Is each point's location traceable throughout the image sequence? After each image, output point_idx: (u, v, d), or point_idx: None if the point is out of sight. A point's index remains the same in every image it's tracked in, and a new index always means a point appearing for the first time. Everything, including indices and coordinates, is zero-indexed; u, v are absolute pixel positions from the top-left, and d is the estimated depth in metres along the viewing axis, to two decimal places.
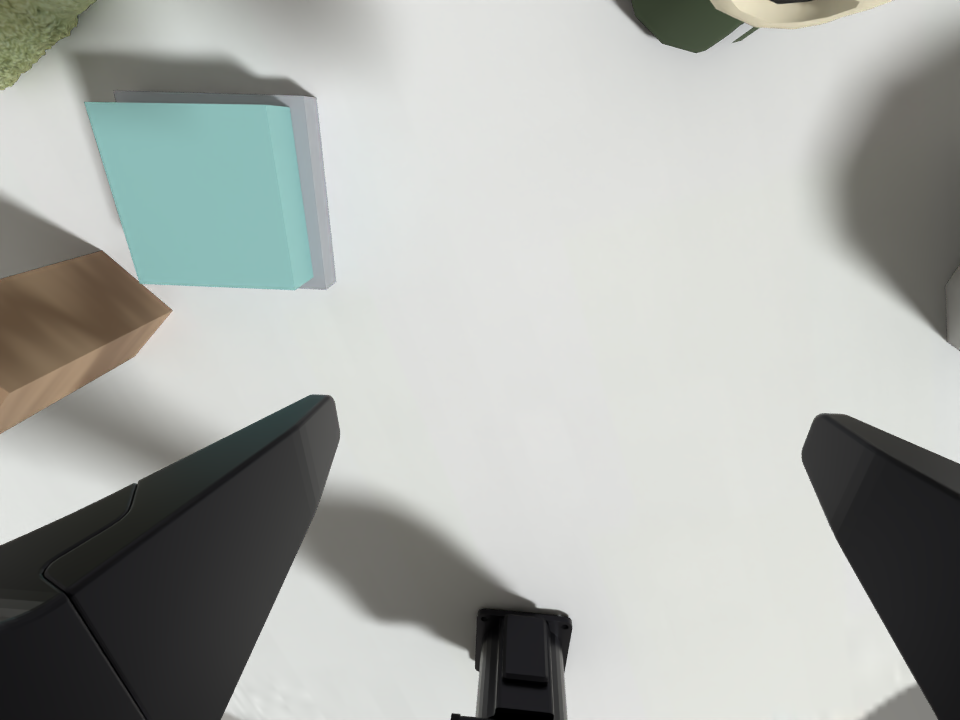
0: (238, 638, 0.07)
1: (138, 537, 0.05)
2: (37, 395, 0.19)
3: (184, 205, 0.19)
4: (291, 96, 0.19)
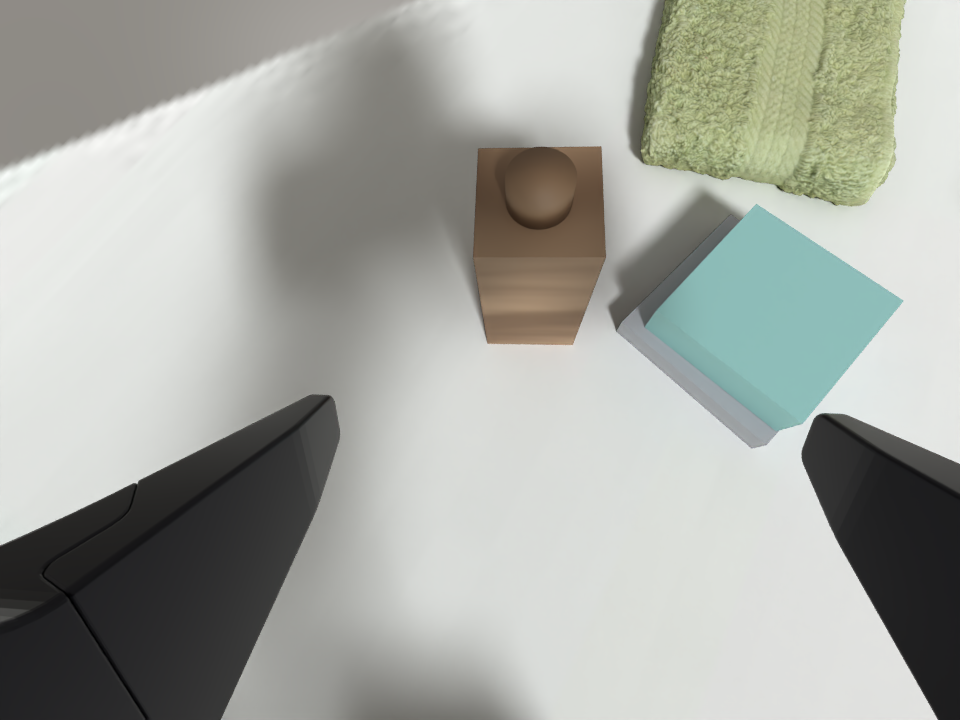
0: (238, 638, 0.07)
1: (138, 537, 0.05)
2: (542, 283, 0.17)
3: (764, 299, 0.20)
4: None
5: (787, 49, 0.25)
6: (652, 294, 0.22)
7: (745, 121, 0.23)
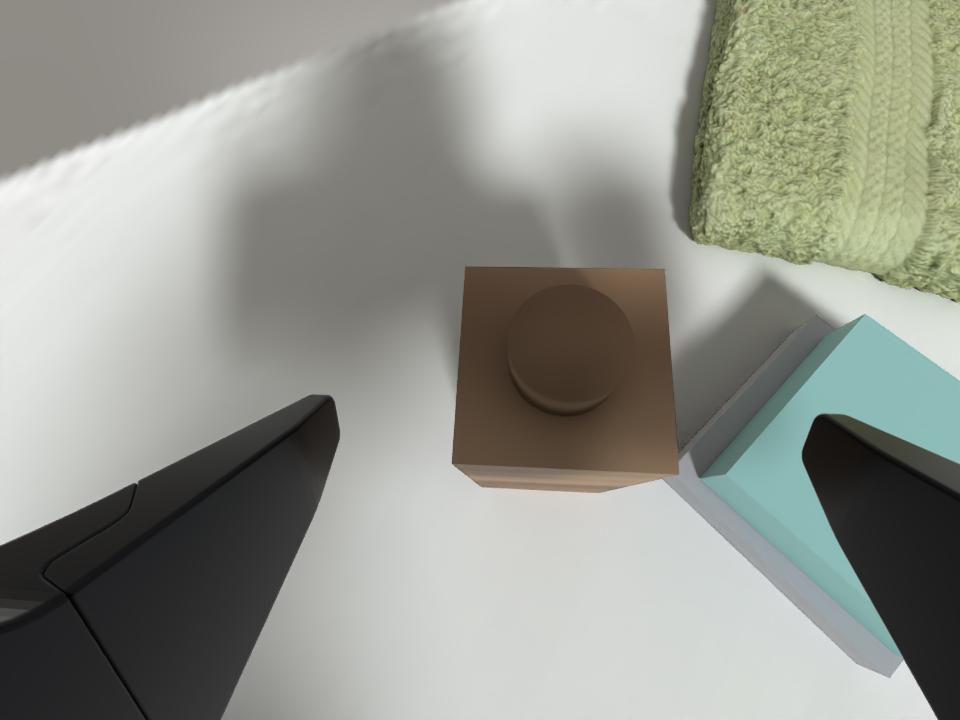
0: (238, 638, 0.07)
1: (138, 537, 0.05)
2: (564, 477, 0.11)
3: None
4: None
5: (886, 95, 0.18)
6: (711, 431, 0.16)
7: (838, 194, 0.17)
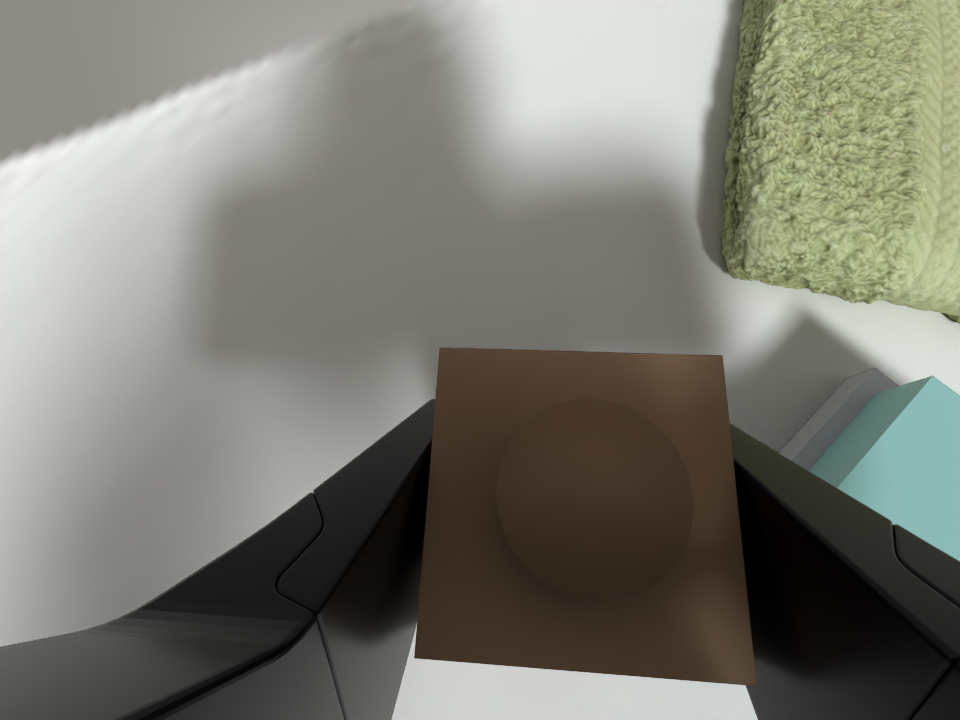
0: (399, 651, 0.07)
1: (351, 551, 0.05)
2: None
3: None
4: None
5: (959, 100, 0.15)
6: None
7: (909, 222, 0.14)
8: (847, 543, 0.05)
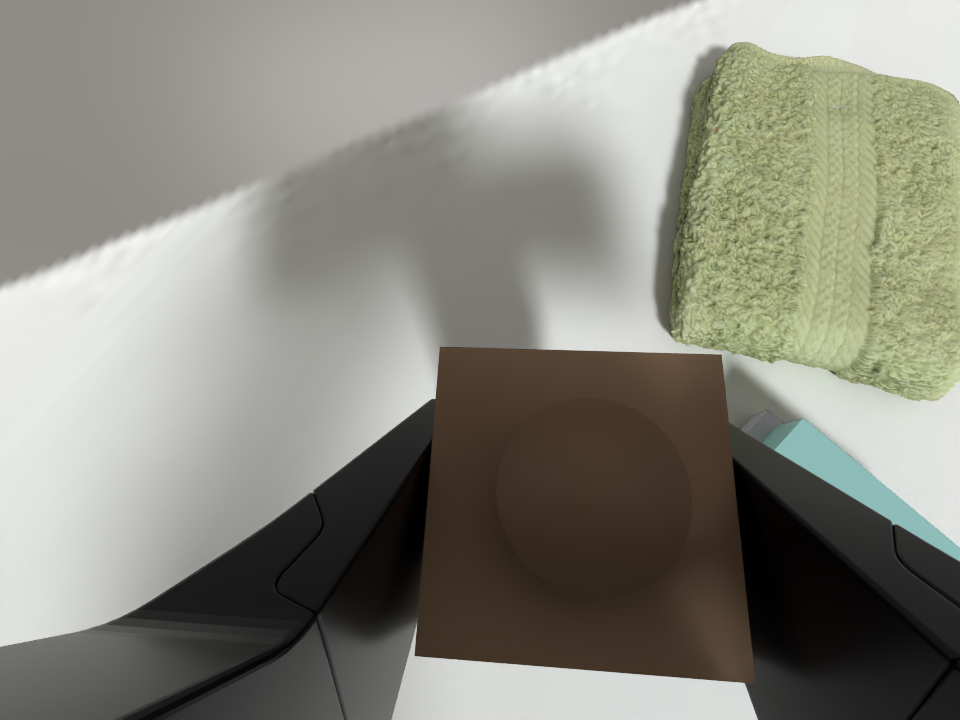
0: (399, 651, 0.07)
1: (351, 551, 0.05)
2: None
3: None
4: None
5: (836, 214, 0.21)
6: None
7: (794, 309, 0.20)
8: (846, 543, 0.05)
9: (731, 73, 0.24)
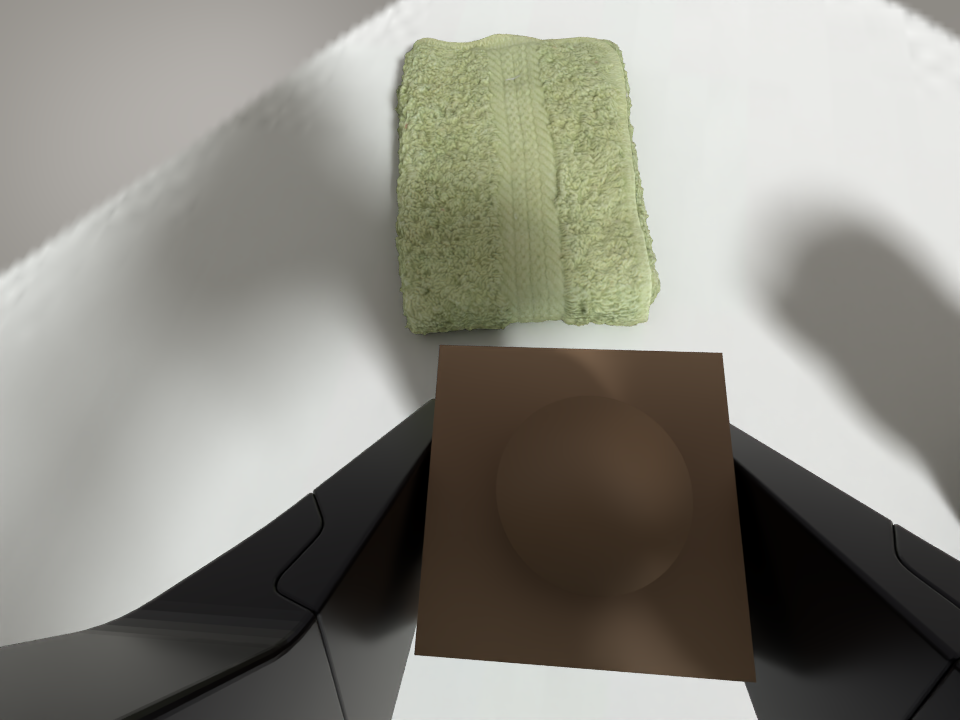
0: (399, 651, 0.07)
1: (351, 551, 0.05)
2: None
3: None
4: None
5: (521, 178, 0.23)
6: None
7: (496, 276, 0.21)
8: (847, 543, 0.05)
9: (412, 70, 0.25)
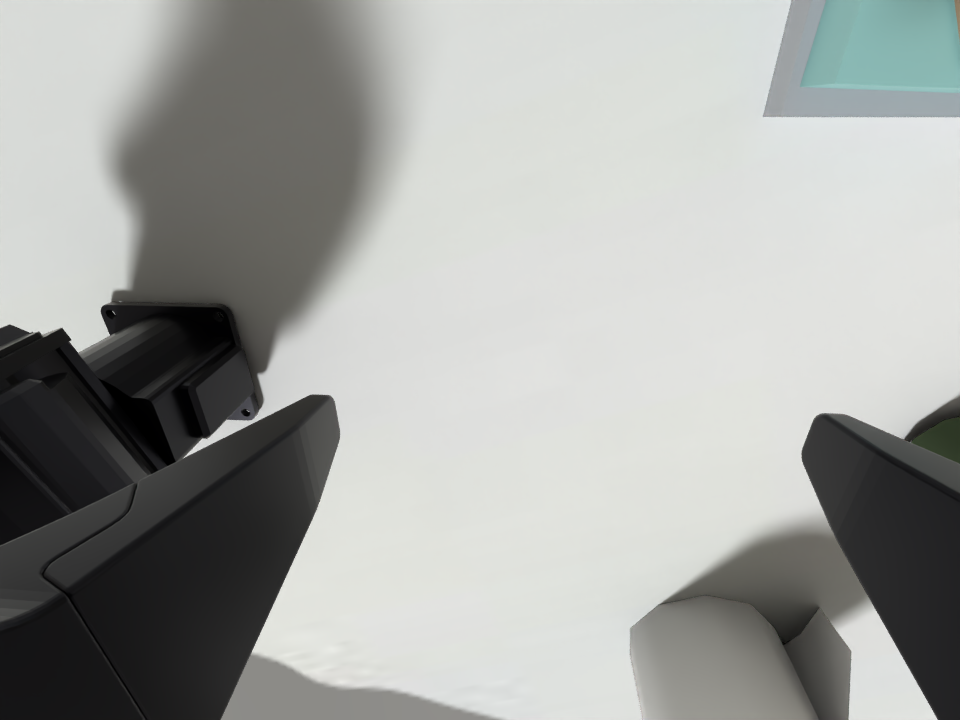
0: (238, 638, 0.07)
1: (138, 537, 0.05)
2: None
3: None
4: None
5: None
6: None
7: None
8: None
9: None
